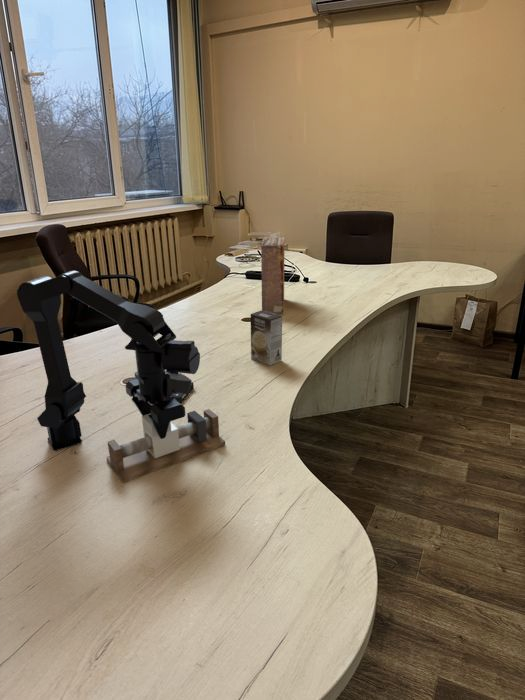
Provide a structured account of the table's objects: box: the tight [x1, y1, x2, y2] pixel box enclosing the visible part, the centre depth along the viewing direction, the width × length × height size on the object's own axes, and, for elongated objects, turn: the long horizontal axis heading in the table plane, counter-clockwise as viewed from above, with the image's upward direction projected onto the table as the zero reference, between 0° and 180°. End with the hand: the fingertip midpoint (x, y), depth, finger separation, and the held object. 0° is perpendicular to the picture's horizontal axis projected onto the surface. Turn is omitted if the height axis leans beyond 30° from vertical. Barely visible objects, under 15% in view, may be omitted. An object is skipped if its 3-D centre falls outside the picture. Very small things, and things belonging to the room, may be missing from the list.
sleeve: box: [141, 413, 180, 458], centre depth 110 cm, size 6×5×8 cm
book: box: [260, 235, 286, 316], centre depth 218 cm, size 25×9×30 cm, turn 176°
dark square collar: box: [186, 410, 207, 442], centre depth 115 cm, size 2×5×5 cm, turn 35°
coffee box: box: [250, 309, 283, 366], centre depth 161 cm, size 9×6×16 cm
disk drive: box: [131, 381, 195, 404], centre depth 141 cm, size 10×3×15 cm
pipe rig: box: [106, 408, 226, 484], centre depth 111 cm, size 25×10×6 cm, turn 125°
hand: (157, 432), depth 109 cm, fingers closed on sleeve, 5 cm apart
